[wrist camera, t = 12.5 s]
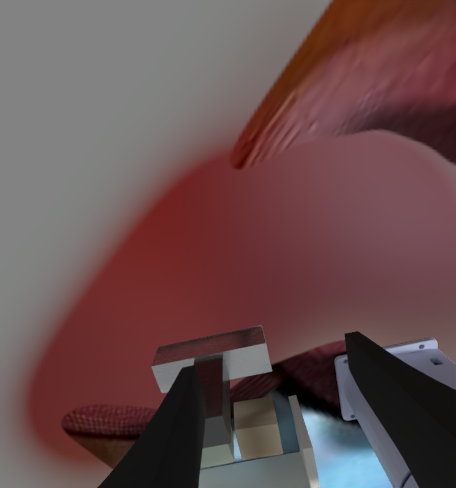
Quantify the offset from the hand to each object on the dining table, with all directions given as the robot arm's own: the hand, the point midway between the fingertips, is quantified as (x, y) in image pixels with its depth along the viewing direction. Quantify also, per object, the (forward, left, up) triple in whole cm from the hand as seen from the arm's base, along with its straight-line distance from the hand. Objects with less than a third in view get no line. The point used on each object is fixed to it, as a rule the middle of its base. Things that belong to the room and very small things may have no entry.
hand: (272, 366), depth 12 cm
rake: (+5, +7, -11) cm, 14 cm away
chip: (+3, +16, -11) cm, 19 cm away
